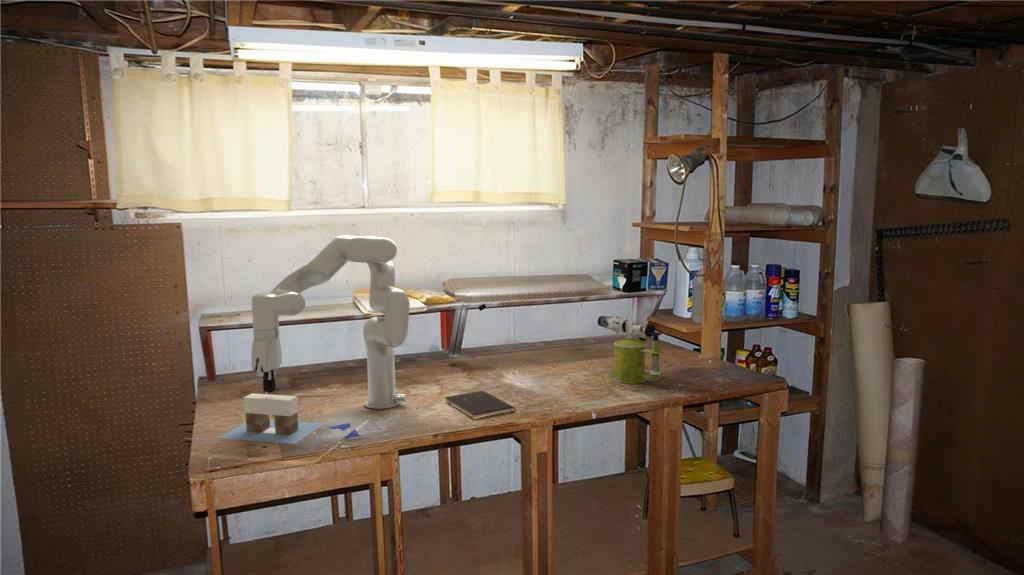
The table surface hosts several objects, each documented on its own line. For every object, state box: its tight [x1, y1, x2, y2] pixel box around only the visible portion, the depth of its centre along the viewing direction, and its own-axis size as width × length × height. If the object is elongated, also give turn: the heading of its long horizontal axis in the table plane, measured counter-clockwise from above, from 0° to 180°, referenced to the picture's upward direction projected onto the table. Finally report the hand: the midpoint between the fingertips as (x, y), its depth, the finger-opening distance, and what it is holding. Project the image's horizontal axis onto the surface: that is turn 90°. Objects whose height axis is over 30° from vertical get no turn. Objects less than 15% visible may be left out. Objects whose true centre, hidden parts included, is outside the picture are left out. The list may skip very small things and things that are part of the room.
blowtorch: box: [597, 315, 664, 385], centre depth 270 cm, size 13×33×25 cm, turn 36°
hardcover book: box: [444, 390, 516, 418], centre depth 239 cm, size 16×23×2 cm
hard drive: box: [328, 423, 361, 442], centre depth 214 cm, size 2×8×12 cm
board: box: [218, 419, 325, 445], centre depth 214 cm, size 26×18×1 cm
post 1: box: [245, 413, 271, 433], centre depth 215 cm, size 5×5×6 cm
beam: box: [243, 392, 299, 416], centre depth 213 cm, size 16×4×5 cm, turn 76°
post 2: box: [273, 412, 299, 435], centre depth 213 cm, size 5×5×6 cm
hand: (269, 391), depth 212 cm, fingers closed
